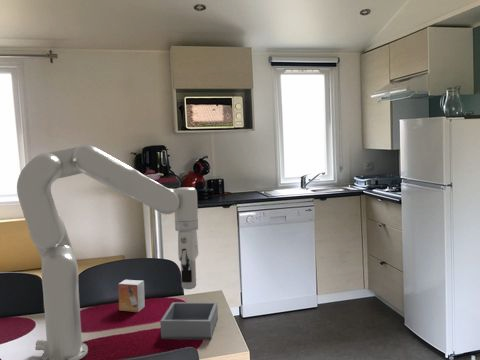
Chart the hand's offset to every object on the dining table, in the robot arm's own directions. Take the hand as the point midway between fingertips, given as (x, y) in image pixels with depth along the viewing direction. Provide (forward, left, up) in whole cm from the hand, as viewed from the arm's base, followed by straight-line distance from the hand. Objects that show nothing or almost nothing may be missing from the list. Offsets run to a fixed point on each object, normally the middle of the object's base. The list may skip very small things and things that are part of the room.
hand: (188, 278), depth 140 cm
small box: (-26, +17, -17) cm, 36 cm away
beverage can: (0, 0, -3) cm, 3 cm away
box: (0, 0, -17) cm, 17 cm away
